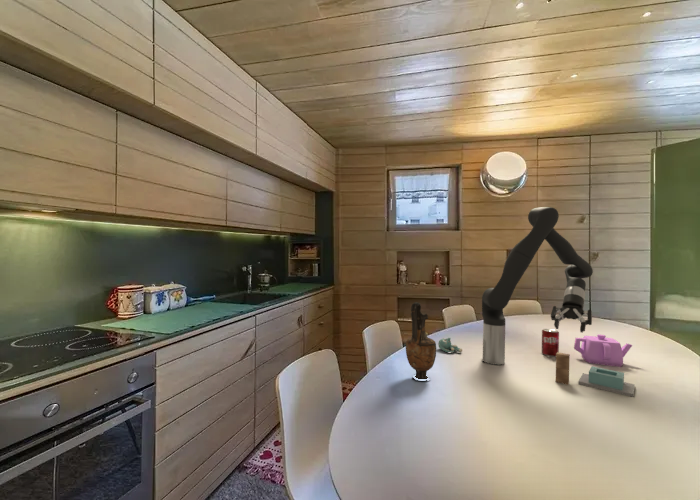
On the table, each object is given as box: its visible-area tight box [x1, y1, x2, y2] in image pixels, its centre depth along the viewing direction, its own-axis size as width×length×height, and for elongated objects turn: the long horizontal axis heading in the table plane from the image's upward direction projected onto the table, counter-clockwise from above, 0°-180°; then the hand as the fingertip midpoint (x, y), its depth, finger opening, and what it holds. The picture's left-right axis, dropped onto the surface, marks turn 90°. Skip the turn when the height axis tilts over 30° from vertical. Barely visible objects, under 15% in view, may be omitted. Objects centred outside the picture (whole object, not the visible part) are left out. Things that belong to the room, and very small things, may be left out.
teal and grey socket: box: [577, 365, 636, 398], centre depth 126 cm, size 16×12×5 cm
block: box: [555, 351, 571, 386], centre depth 128 cm, size 4×2×11 cm, turn 48°
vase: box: [405, 301, 437, 379], centre depth 129 cm, size 12×12×30 cm
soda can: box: [541, 328, 560, 358], centre depth 163 cm, size 7×7×12 cm
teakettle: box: [573, 333, 633, 368], centre depth 155 cm, size 17×17×12 cm
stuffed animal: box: [437, 337, 463, 353], centre depth 166 cm, size 11×7×12 cm
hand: (568, 329), depth 136 cm, fingers open, 8 cm apart
